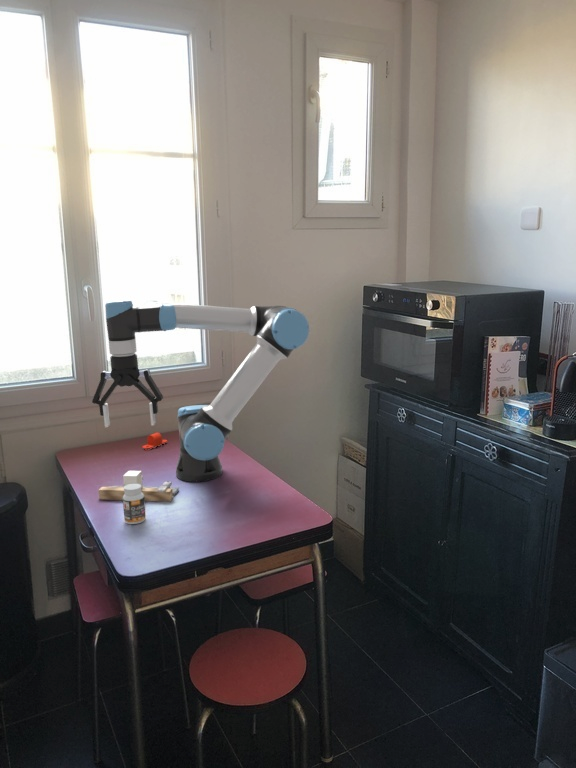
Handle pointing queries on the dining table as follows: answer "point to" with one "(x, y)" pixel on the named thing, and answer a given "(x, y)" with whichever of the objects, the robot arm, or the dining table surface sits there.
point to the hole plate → (174, 489)
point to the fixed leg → (165, 486)
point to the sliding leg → (133, 478)
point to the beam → (149, 493)
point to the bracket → (154, 441)
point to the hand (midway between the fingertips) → (130, 425)
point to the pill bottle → (134, 504)
